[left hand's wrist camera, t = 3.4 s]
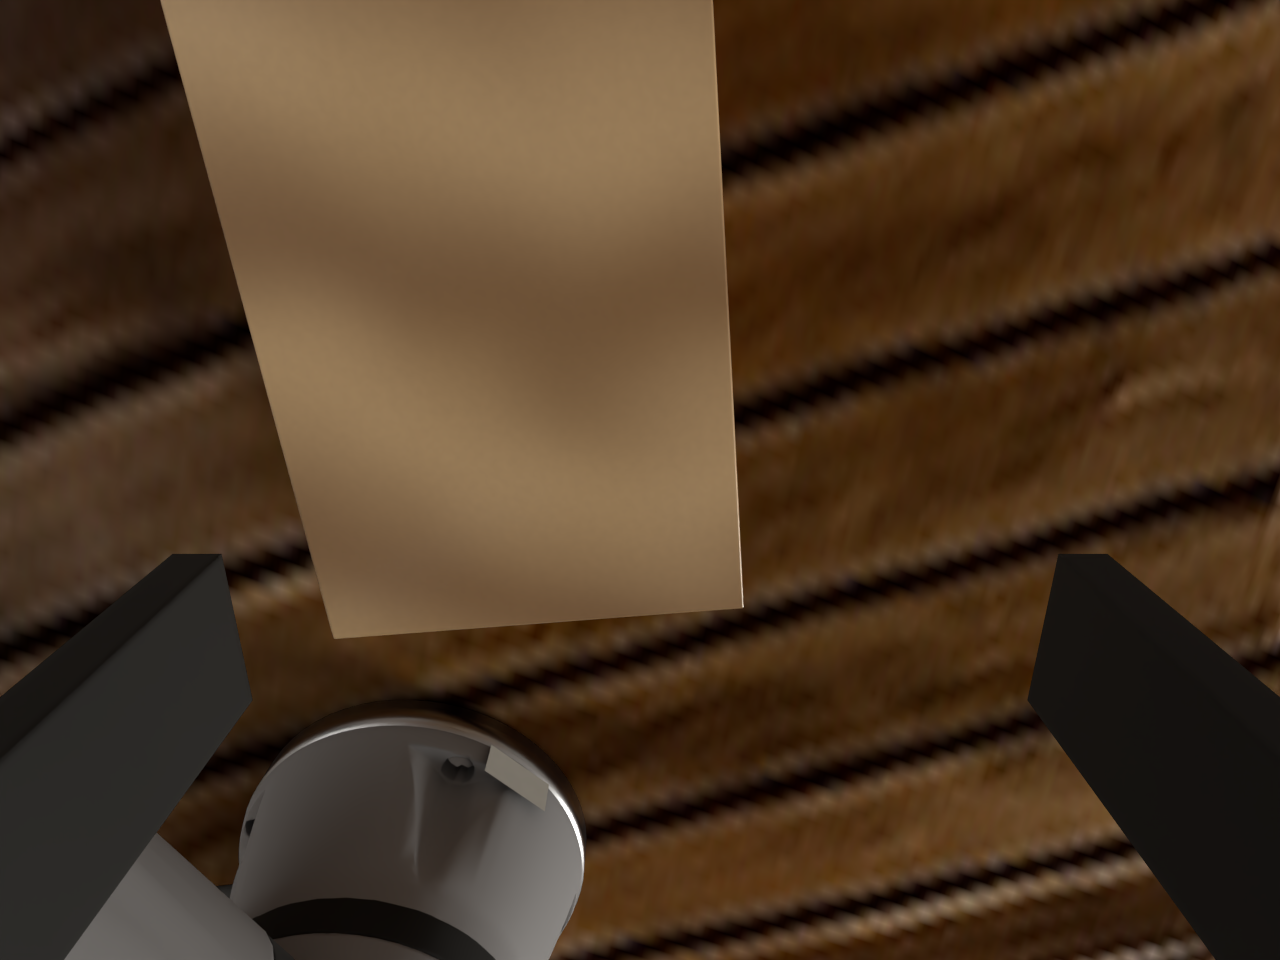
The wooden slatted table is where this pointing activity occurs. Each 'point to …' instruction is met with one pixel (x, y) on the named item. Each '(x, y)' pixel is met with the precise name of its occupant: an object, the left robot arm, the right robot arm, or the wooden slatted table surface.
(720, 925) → the wooden slatted table surface
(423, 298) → the cabinet
